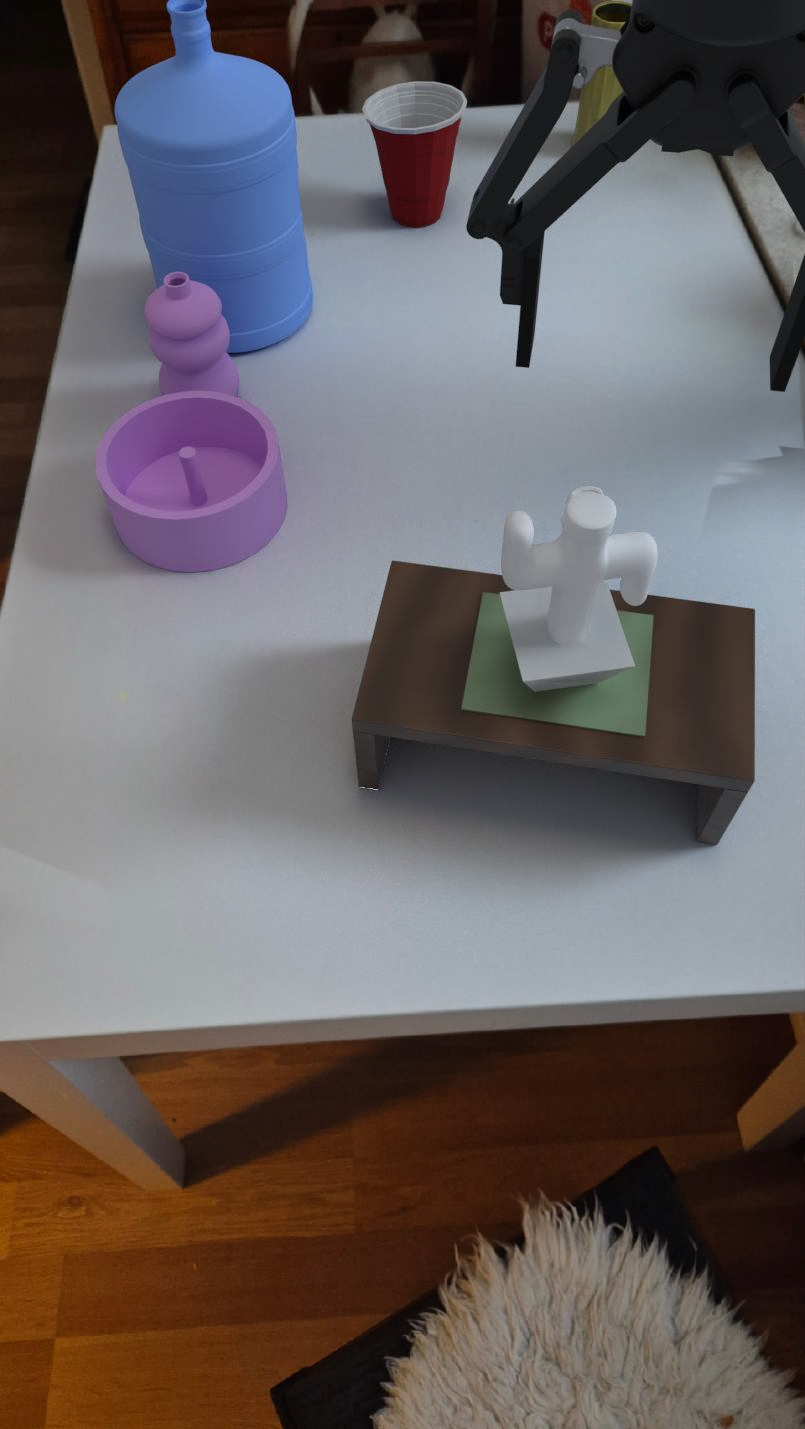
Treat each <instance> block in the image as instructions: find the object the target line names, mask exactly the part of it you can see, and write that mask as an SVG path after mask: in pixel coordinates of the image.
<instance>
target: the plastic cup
mask: <svg viewBox="0 0 805 1429" xmlns="http://www.w3.org/2000/svg"><path fill="white" fill-rule="evenodd" d="M467 103H468V100H467V98H466V96H465V93H464V92H463V91H462V90H459V88H457V87H454V86H453V85H450V84H447V83H442V82H437V81H409V82H402V83H397V84H396V83H395V84H393V85H390V86H387V87H385V88H382V89H380V90H377V91H376V92H374V93H373V94H372V95H370V96H369V97H368V98H366V100H365V102H364V104H363V106H362V108H361V110H362V112H363V115H364V119H365V120H366V123H367V124H368V125H369V127H370V129H371V133H372V136H373V139H374V143H375V146H376V152H377V157H378V161H379V166H380V170H381V175H382V181H383V185H384V188H385V191H386V198H387V202H388V208H389V211H390V214H391V217H392V219H393V220H394V221H395V222H396V223H397V224H399V225H402V226H405V227H406V228H407V227H408V228H409V227H410V228H423V227H428V226H431V225H433V224H436V222H437V221H438V220H440V219H441V216H442V213H443V210H444V207H445V201H446V195H447V191H448V190H447V189H448V186H449V183H450V178H451V172H452V166H453V161H454V156H455V150H456V144H457V138H458V135H459V130H460V125H461V122H462V117H463V116H464V114H465V110H466V108H467V105H468V104H467Z"/></svg>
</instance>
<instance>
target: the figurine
mask: <svg viewBox="0 0 805 1429" xmlns="http://www.w3.org/2000/svg"><path fill="white" fill-rule="evenodd" d="M617 513H618V511H617V506H616V503H615V502H614V501H613V500H612V499H611V497H609V496H608V495H606V494H604V492H603V490H602V489H601V488H599V487H597V486H590V485H585V486H578V487H576V488H573V490H571V491H570V492H568V495H567V497H566V503H565V508H564V512H563V515H562V516H561V518H560V523H561V530H562V531H561V533H560V535H559V536H558V537H557V538H556V539H554V540H552V541H550V542H543V543H535V544H534V539H535V527H534V523H533V520H532V518H531V517H530V516H529V514H528V513H526V512H525V511H523V510H514V511H513V510H512V511H511V512H510V513H509V514H508V515H507V516H506V519H505V521H504V527H503V534H502V536H503V537H502V544H501V553H500V554H501V557H500V572H501V575H502V577H503V580H504V582H505V584H506V585H507V586H508V587H509V588H511V589H513V590H514V591H507V592H500V596H501V600H502V603H503V607H504V611H505V615H506V619H507V623H508V626H509V630H510V634H511V638H512V642H513V646H514V649H515V653H516V657H517V661H518V665H519V669H520V672H521V676H522V680H523V682H524V683H525V684H526V685H528V686H529V687H530V688H531V689H532V690H533V691H534V692H537V691H544V690H552V689H559V688H567V687H574V686H581V685H589V684H596V683H600V682H602V681H604V680H607V679H609V678H611V677H613V676H615V675H618V674H620V673H622V672H624V671H626V670H629V669H631V668H633V667H635V664H634V661H633V658H632V655H631V652H630V649H629V646H628V643H627V640H626V637H625V634H624V631H623V628H622V625H621V622H620V619H619V616H618V613H617V610H616V607H615V604H614V601H613V598H612V595H611V592H610V590H611V589H610V587H609V583H608V580H616V579H620V581H619V591H620V592H621V595H622V597H623V599H624V600H625V601H626V602H627V603H628V604H630V605H632V606H638V605H641V604H642V603H643V602H644V601H645V600H646V598H647V595H649V591H650V589H651V585H652V581H653V578H654V574H655V571H656V569H657V564H658V557H659V556H658V554H659V552H658V551H659V550H658V544H657V541H656V540H655V538H654V537H653V536H652V534H650V533H648V532H644V531H630V532H623V533H615V534H614V533H613V534H612V530H613V527H614V525H615V521H616V517H617Z"/></svg>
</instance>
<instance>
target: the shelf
mask: <svg viewBox="0 0 805 1429" xmlns="http://www.w3.org/2000/svg"><path fill="white" fill-rule="evenodd" d="M507 591H514V590H513V589H511V588H509V587H508V586H507V585H506V584H505V582H504V580H503V577H502V574H498V573H497V574H496V573H491V572H483V571H476V570H468V569H461V568H460V569H459V568H453V567H445V566H438V565H430V564H423V563H416V562H409V561H408V562H407V561H400V560H394V559H393V560H391V562H390V565H389V570H388V573H387V578H386V581H385V585H384V590H383V593H382V597H381V601H380V605H379V609H378V613H377V617H376V620H375V625H374V629H373V632H372V636H371V640H370V645H369V648H368V653H367V656H366V661H365V664H364V668H363V672H362V676H361V679H360V683H359V687H358V692H357V696H356V698H355V699H356V700H355V704H354V707H353V712H352V716H351V729H352V737H353V750H354V755H355V765H356V775H357V786H358V788H359V787H365V788H373V789H379V790H380V786H379V784H380V785H381V782H380V780H381V781H382V778H381V776H383V773H382V771H383V772H384V769H383V767H384V768H385V764H384V762H385V763H386V760H385V758H386V759H387V756H386V753H387V754H388V751H387V749H388V750H389V747H388V745H389V746H390V742H391V738H395V739H402V740H408V741H414V742H415V741H416V742H421V743H428V744H435V745H441V746H448V747H453V748H461V749H465V750H466V749H467V750H474V751H480V752H487V753H492V754H493V753H494V754H499V755H505V756H513V757H519V758H525V759H530V760H531V759H532V760H538V761H546V762H551V763H557V764H565V765H570V766H577V767H585V768H589V769H590V768H591V769H595V770H596V769H597V770H604V771H610V772H616V773H623V774H629V775H635V776H643V777H649V778H656V779H662V780H669V781H675V782H680V783H689V784H695V785H698V786H697V788H698V789H697V808H696V809H697V812H696V838H695V839H696V840H695V841H696V842H697V843H702V844H707V845H708V844H709V845H715V846H718V845H719V843H720V841H721V840H722V838H723V836H724V834H725V833H726V831H727V829H728V827H729V826H730V824H731V823H732V821H733V819H734V818H735V816H736V814H737V812H738V810H739V809H740V808H741V805H742V804H743V802H744V800H745V799H746V797H747V795H748V793H749V791H750V790H751V788H752V787H753V785H754V783H755V781H756V609H755V608H751V607H744V606H736V605H729V604H722V603H713V602H706V601H699V600H691V599H685V598H683V599H682V598H677V597H669V596H663V595H654V594H648V595H647V598H646V600H645V601H644V602H643V603H642V604H641V605H638V606H632V605H630V604H628V603H627V602H626V601H625V600H624V599H623V597H622V595H621V592H620V590H617V589H610V592H611V595H612V598H613V601H614V604H615V607H616V610H617V613H618V616H619V619H620V622H621V625H622V628H623V631H624V634H625V637H626V640H627V643H628V646H629V649H630V652H631V655H632V658H633V661H634V664H635V667H633V668H631V669H629V670H626V671H624V672H622V673H620V674H618V675H615V676H613V677H611V678H609V679H607V680H604V681H602V682H600V683H596V684H589V685H581V686H574V687H567V688H559V689H552V690H544V691H537V692H534V691H533V690H532V689H531V688H530V687H529V686H528V685H526V684H525V683H524V682H523V680H522V676H521V672H520V669H519V665H518V661H517V657H516V653H515V649H514V646H513V642H512V638H511V634H510V630H509V626H508V623H507V619H506V615H505V611H504V607H503V603H502V600H501V596H500V592H507ZM390 737H391V738H390ZM389 741H390V742H389Z"/></svg>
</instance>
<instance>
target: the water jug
mask: <svg viewBox="0 0 805 1429" xmlns="http://www.w3.org/2000/svg"><path fill="white" fill-rule="evenodd" d="M207 7H208V6H207V1H206V0H168V1H167V2H166V10H167V12H168V14H169V15H170V21H171V25H170V32H171V36H172V38H173V42H174V47H175V55H174V56H172V57H169V58H168V59H165V60H163V61H160V62H158V63H156V64H154V65H151V66H149V67H147V68H145V69H143V70H141V71H140V72H138V73H137V74H135V75H134V76H133V77H131V78H130V79H129V80H128V81H127V82H126V83H125V84H124V85H123V86H122V88H121V89H120V91H119V92H118V94H117V97H116V99H115V103H114V117H115V121H116V127H117V128H116V130H117V136H118V142H119V145H120V149H121V153H122V157H123V159H124V163H125V164H126V167H127V171H128V175H129V179H130V183H131V187H132V191H133V195H134V196H133V197H134V199H135V204H136V207H137V212H138V220H139V227H140V231H141V234H142V238H143V242H144V245H145V248H146V250H147V252H148V255H149V261H150V266H151V270H152V273H153V278H154V281H155V285H156V289H158V288H159V287H161V286H162V285H164V282H163V280H164V278H165V276H166V275H168V274H170V273H173V272H183V273H186V274H187V275H188V276H189V280H192V281H196V282H200V283H203V284H205V285H207V286H209V287H210V288H212V289H213V290H214V291H215V293H216V294H217V296H218V297H219V299H220V300H221V304H222V310H221V314H222V316H223V317H224V318H225V320H226V322H227V325H228V328H229V331H230V338H229V345H228V348H227V350H226V353H227V354H229V353H231V354H233V353H235V354H236V353H245V352H253V351H257V350H261V349H264V348H267V347H270V346H273V345H275V344H278V343H279V342H281V341H283V340H285V339H286V338H288V337H289V336H291V335H292V334H293V333H295V332H296V331H297V330H298V329H299V328H301V326H302V325H303V323H304V322H306V320H307V318H308V317H309V314H310V312H311V310H312V306H313V302H314V301H313V300H314V292H313V283H312V282H313V280H312V276H311V273H310V267H309V266H310V265H309V256H308V247H307V239H306V235H305V230H304V221H303V212H302V206H301V197H300V196H301V195H300V186H299V184H300V183H299V160H298V158H299V157H298V149H297V148H298V147H297V143H298V131H297V125H296V124H297V123H296V122H297V121H296V115H295V110H294V106H293V101H292V100H293V99H292V94H291V89H290V88H289V85H288V83H287V82H286V81H285V79H284V77H283V76H282V75H281V74H279V72H277V71H276V70H275V69H273V68H272V67H270V66H269V65H267V64H265V63H264V62H263V63H262V62H260V61H258V60H255V59H252V58H249V57H244V56H239V55H234V54H229V53H223V52H219V51H215V50H214V48H213V45H212V38H211V32H212V31H211V24H210V22H209V21H208V18H207V13H206V10H207Z"/></svg>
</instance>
